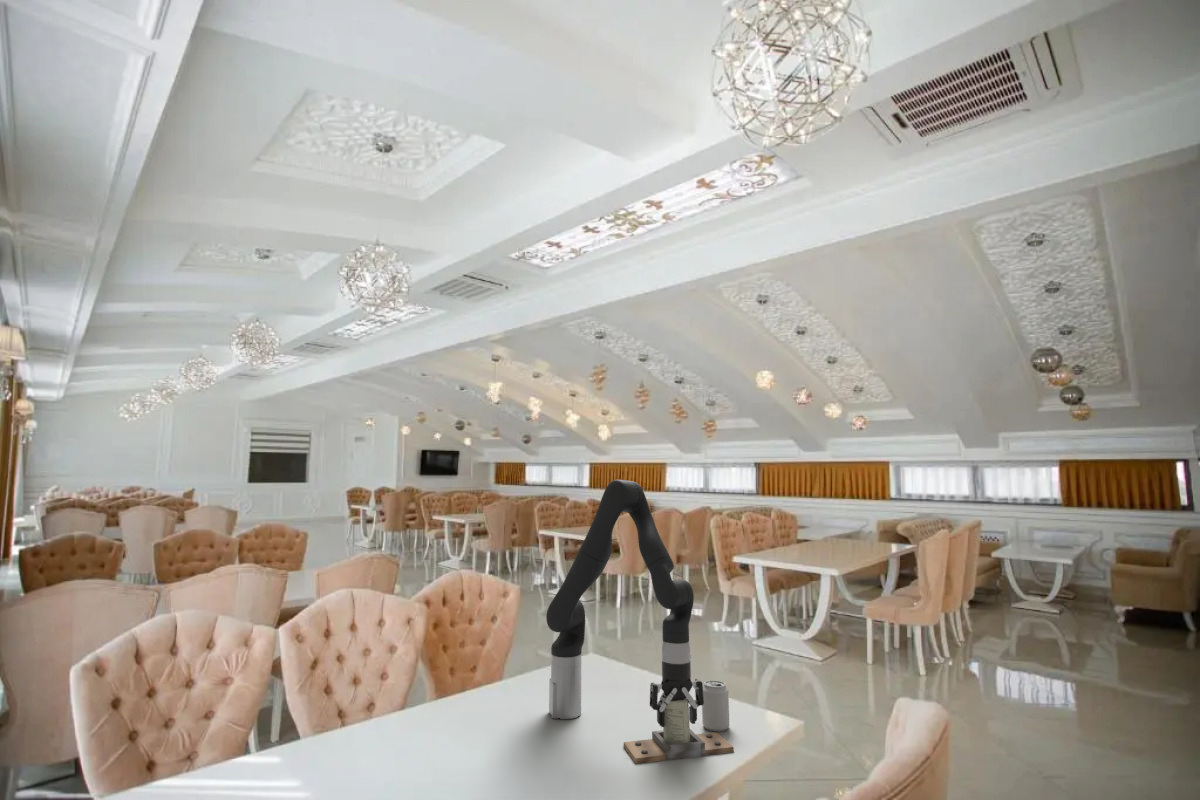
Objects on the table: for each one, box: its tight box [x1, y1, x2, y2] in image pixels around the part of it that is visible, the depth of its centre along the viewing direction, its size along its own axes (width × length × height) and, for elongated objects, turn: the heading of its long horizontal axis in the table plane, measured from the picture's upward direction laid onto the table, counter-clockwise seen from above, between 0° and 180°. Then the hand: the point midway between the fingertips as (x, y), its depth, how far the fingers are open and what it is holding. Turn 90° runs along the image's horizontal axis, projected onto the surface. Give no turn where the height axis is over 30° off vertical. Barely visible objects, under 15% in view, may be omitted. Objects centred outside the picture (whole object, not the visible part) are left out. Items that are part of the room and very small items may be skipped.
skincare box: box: [662, 698, 690, 745], centre depth 155 cm, size 6×4×12 cm
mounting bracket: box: [623, 729, 735, 764], centre depth 154 cm, size 26×10×3 cm, turn 105°
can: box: [701, 679, 730, 733], centre depth 169 cm, size 8×8×12 cm
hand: (677, 724), depth 155 cm, fingers open, 8 cm apart
